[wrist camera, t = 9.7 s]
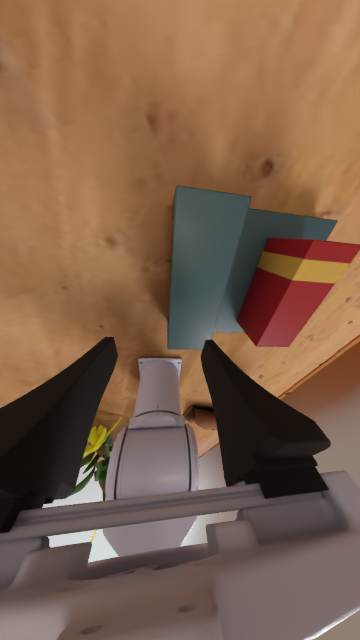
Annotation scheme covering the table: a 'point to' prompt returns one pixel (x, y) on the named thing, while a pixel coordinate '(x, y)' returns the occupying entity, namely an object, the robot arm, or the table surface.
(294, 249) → the candy bar
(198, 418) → the sunglasses case
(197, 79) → the table surface
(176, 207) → the shelf rack
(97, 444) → the daffodil flowers
